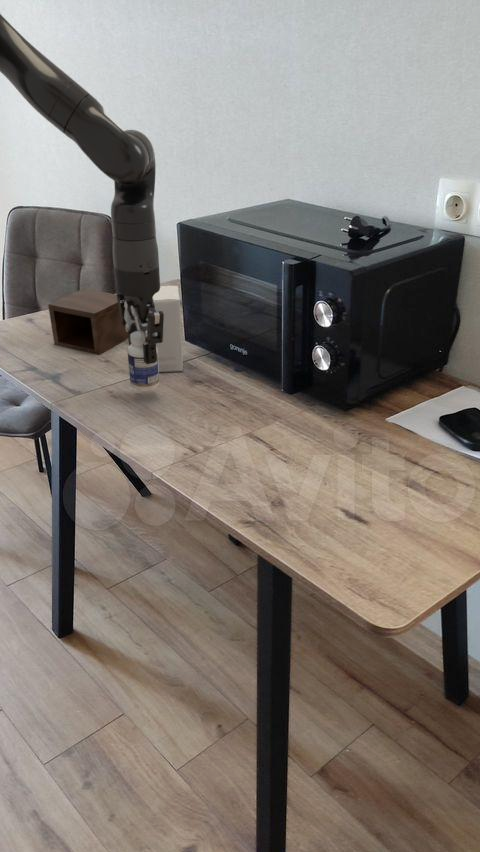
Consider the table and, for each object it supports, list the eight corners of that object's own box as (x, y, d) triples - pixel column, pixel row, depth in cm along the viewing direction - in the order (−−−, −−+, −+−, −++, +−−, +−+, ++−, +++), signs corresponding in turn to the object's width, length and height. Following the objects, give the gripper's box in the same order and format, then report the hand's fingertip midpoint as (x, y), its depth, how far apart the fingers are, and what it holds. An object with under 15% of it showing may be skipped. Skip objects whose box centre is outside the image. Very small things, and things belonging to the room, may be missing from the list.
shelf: (99, 354, 148) (94, 313, 143) (54, 344, 152) (47, 304, 147) (132, 336, 157) (128, 296, 152) (88, 326, 161) (83, 288, 156)
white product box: (184, 372, 141) (180, 299, 133) (138, 374, 140) (132, 300, 132) (182, 354, 149) (178, 284, 141) (139, 356, 148) (133, 285, 140)
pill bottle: (131, 378, 132) (127, 329, 127) (159, 377, 133) (156, 328, 128) (129, 390, 128) (125, 340, 123) (159, 390, 128) (156, 340, 123)
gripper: (98, 255, 121) (107, 347, 130) (134, 277, 111) (141, 375, 121) (137, 250, 125) (144, 340, 134) (176, 271, 115) (180, 366, 124)
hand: (143, 356), depth 127 cm, fingers closed on pill bottle, 5 cm apart
